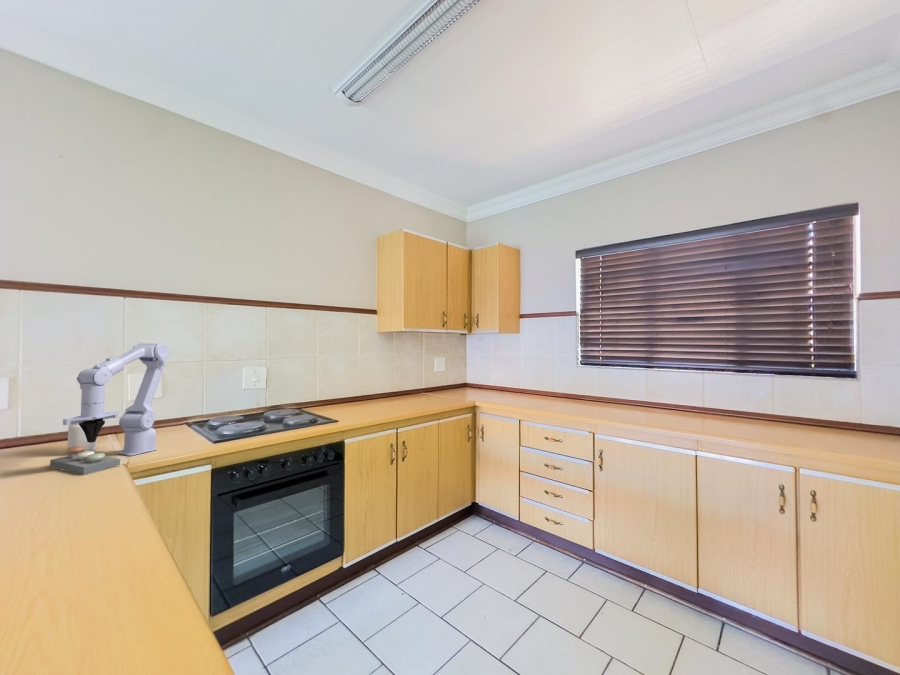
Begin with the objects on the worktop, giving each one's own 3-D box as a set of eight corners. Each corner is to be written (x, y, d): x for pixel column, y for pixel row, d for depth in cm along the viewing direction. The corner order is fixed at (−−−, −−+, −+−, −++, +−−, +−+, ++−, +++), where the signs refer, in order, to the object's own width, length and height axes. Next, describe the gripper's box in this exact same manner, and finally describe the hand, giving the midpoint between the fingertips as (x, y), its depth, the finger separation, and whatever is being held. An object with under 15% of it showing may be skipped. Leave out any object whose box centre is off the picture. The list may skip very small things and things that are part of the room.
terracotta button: (80, 456, 133) (80, 445, 133) (87, 458, 132) (87, 446, 132) (63, 460, 129) (64, 448, 129) (70, 462, 127) (71, 449, 128)
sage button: (99, 464, 129) (100, 452, 129) (107, 466, 127) (107, 453, 127) (83, 468, 125) (84, 455, 125) (91, 470, 123) (91, 457, 123)
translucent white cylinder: (77, 456, 140) (78, 424, 140) (61, 454, 141) (62, 423, 141) (101, 450, 147) (102, 420, 148) (86, 448, 149) (87, 419, 149)
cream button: (89, 462, 131) (90, 450, 131) (96, 464, 129) (97, 451, 130) (73, 466, 127) (73, 453, 127) (80, 467, 125) (81, 455, 125)
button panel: (49, 467, 127) (50, 459, 127) (86, 458, 136) (87, 452, 136) (83, 475, 120) (83, 467, 120) (119, 465, 129) (120, 458, 129)
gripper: (72, 406, 120) (70, 448, 119) (124, 400, 133) (123, 438, 133) (59, 405, 122) (58, 446, 122) (112, 399, 136) (110, 436, 135)
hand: (91, 441), depth 127 cm, fingers closed
